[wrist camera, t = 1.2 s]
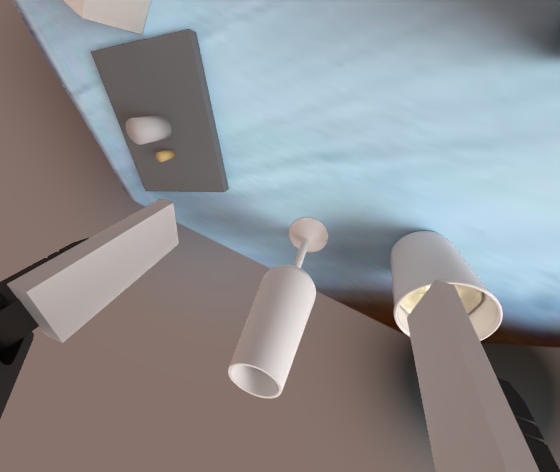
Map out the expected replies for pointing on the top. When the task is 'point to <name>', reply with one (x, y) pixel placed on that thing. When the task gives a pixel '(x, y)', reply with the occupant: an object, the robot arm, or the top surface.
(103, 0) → the beige notched hollow block
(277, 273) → the champagne flute
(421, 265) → the candle holder
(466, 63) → the top surface
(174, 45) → the base plate
